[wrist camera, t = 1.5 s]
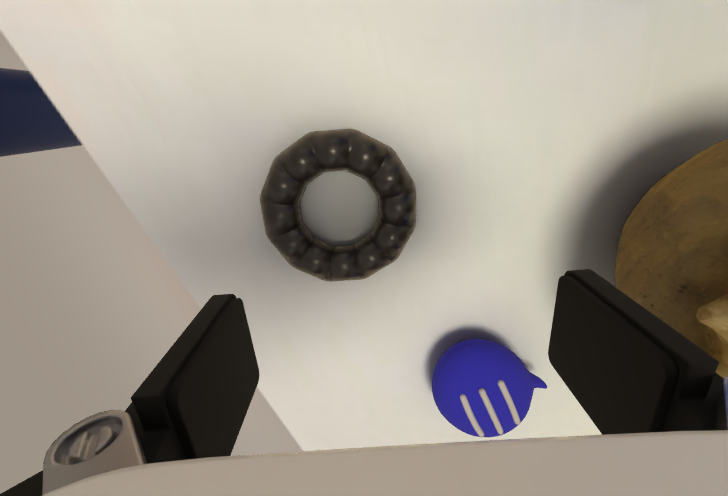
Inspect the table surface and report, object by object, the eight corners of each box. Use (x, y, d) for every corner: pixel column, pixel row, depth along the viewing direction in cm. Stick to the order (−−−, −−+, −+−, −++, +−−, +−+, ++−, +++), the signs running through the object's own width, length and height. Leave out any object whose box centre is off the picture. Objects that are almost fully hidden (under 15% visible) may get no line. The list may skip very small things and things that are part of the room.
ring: (279, 275, 30) (272, 291, 28) (254, 134, 26) (243, 138, 23) (414, 266, 30) (419, 281, 27) (411, 123, 26) (417, 125, 23)
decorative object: (568, 456, 29) (447, 465, 32) (544, 402, 35) (443, 413, 37) (556, 355, 26) (421, 373, 28) (531, 312, 31) (420, 330, 34)
